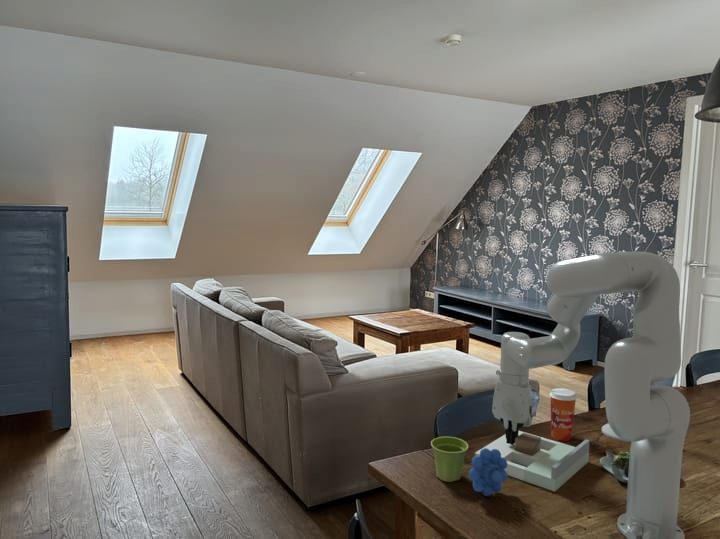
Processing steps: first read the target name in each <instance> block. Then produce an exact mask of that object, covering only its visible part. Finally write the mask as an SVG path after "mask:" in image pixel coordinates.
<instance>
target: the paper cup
mask: <svg viewBox="0 0 720 539" xmlns="http://www.w3.org/2000/svg"><path fill="white" fill-rule="evenodd" d="M549 397H550V434H551V436H550V437H551V438H552V437H553V438H552V439H554V440H556V439H557V440H556V441H561V442H568V441H570V439H571V440H572V434H573V428H574V427H573V426H574V420H575V419H574V417H575V408H576V400H577V399H578V396H577V393H576V392H575V391H574V390H571V389H567V388H562V387H561V388H553V389H551V391H550V393H549Z"/></svg>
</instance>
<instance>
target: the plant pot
mask: <svg viewBox="0 0 720 539" xmlns="http://www.w3.org/2000/svg"><path fill="white" fill-rule="evenodd" d="M430 446H431V448H432V452H433V454H434V456H433V457H434V464H435V475H436V477H437V478H438V479H439V480H440V481H443V482H448V483H453V482H455V481H459V480H461V478H462V472H463V471H462V470H463V466H464V460H465V455H466V453H467V451H468V450H469V444H468V442H467V441H465V440H464V439H461V438H458V437H454V436H439V437H436V438H433V439H432V440H431V441H430Z"/></svg>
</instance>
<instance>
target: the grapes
mask: <svg viewBox="0 0 720 539" xmlns="http://www.w3.org/2000/svg"><path fill="white" fill-rule="evenodd" d="M483 448H484V447H483ZM481 449H482V448H481ZM471 465H472V467H473V468H471V469H470V470H469V471H468V477H469V478H470V480H471V481H472V488H473V490H474V491H476V493H482V495H483V496H484V497H490V496H492V495H493V492H494V493H499V492H501V491H502V489H503V482H506V481H507V480H508V478H509V477H508V476H509V475H507V472H506V471H505V470H504V469H506V467H507V461H506V459H505V458H503V457H501V453H500V451H499V450H497V449H492V450H491V451H490V450H489V449H487V448H484V449H482V450H481V451H480V456H475V455H474V456H473V457H472V458H471Z"/></svg>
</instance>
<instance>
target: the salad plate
mask: <svg viewBox="0 0 720 539" xmlns="http://www.w3.org/2000/svg"><path fill="white" fill-rule="evenodd" d="M605 454H606V456H602V457H601V458H600V459H599V464H600V466H601V467H602V468H603V469H604V470H606V471H607V472H608V473H610V474H611V475H612V476H613V477H614V478H615V479H616V480H618V481H619V482H621V483H622V484H625V485H627V486H628V473H629V457H630V451H629V452H627V451H626V452H623V451H622V450H619V454H617V455H616V454H614V452H613V450H611V449H605Z"/></svg>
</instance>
